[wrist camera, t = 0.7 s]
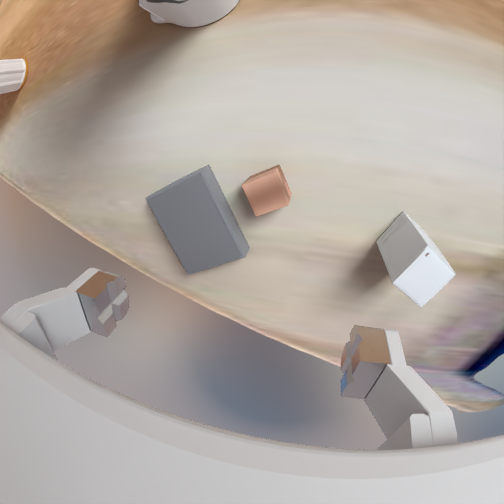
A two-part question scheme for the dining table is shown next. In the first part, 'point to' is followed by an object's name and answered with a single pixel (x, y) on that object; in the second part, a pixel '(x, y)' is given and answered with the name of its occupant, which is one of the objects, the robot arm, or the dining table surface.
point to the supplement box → (413, 260)
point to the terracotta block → (267, 190)
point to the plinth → (198, 221)
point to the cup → (12, 74)
